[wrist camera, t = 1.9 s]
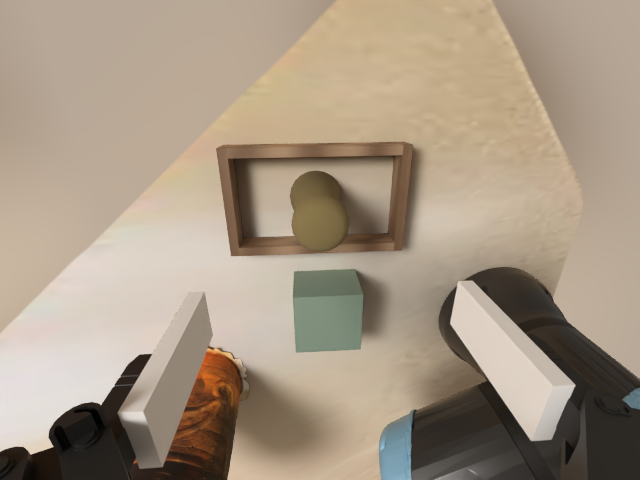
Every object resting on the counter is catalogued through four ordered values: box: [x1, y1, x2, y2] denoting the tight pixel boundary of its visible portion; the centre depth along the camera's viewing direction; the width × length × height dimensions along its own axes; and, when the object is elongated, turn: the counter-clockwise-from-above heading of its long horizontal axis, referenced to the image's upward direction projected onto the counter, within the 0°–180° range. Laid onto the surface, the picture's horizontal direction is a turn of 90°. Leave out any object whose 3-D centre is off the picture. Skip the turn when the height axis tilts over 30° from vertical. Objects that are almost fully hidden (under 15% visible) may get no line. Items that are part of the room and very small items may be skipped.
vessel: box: [129, 348, 249, 480], centre depth 37 cm, size 14×14×20 cm
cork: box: [290, 171, 349, 252], centre depth 31 cm, size 6×6×11 cm
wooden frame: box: [216, 142, 413, 256], centre depth 35 cm, size 20×12×3 cm, turn 91°
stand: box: [293, 269, 363, 353], centre depth 39 cm, size 8×8×6 cm
